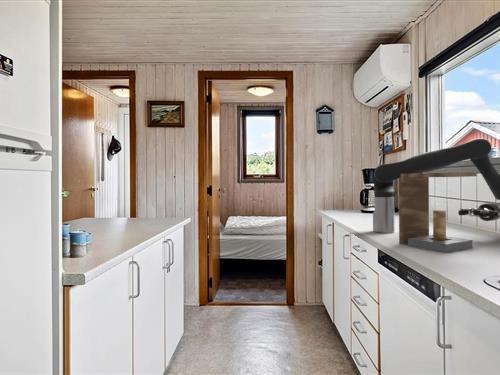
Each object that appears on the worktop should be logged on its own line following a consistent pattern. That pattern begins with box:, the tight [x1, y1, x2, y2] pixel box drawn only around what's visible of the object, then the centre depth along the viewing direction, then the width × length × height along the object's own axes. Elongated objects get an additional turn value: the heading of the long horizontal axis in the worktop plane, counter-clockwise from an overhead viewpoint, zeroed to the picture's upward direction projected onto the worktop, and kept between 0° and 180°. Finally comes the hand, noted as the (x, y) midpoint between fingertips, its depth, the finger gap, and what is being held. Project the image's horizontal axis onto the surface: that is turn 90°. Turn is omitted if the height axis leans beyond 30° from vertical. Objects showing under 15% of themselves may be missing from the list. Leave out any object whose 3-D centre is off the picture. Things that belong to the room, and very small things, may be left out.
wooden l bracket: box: [398, 171, 478, 245], centre depth 148 cm, size 22×16×28 cm
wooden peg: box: [432, 209, 447, 241], centre depth 146 cm, size 4×4×14 cm
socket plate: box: [407, 234, 474, 253], centre depth 146 cm, size 16×16×3 cm
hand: (469, 213), depth 155 cm, fingers open, 8 cm apart
